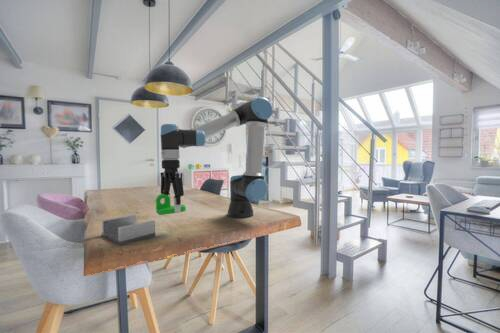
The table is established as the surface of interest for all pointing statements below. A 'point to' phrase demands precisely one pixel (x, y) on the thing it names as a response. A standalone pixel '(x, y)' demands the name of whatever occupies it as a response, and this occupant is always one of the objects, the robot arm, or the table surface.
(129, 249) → the table surface
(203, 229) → the table surface
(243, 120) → the robot arm
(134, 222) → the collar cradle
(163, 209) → the mechanical part
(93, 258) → the table surface
